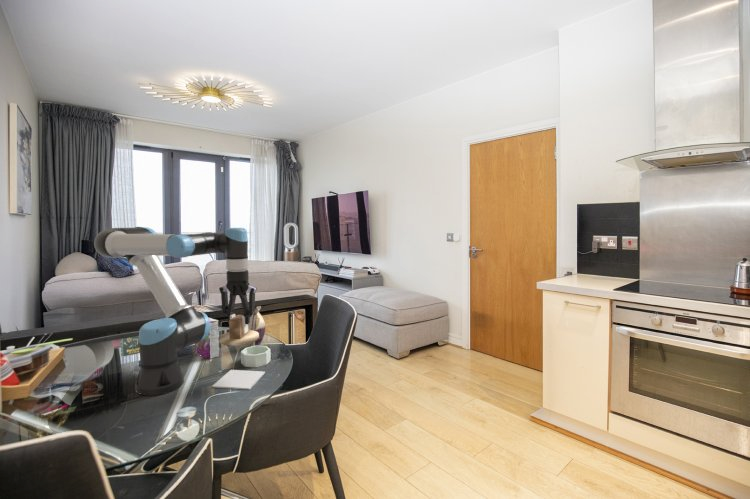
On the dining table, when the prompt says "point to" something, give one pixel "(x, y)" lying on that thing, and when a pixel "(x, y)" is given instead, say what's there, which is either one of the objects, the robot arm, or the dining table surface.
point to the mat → (239, 379)
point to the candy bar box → (209, 342)
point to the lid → (238, 333)
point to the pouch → (257, 326)
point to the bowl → (255, 356)
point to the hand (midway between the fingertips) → (239, 332)
